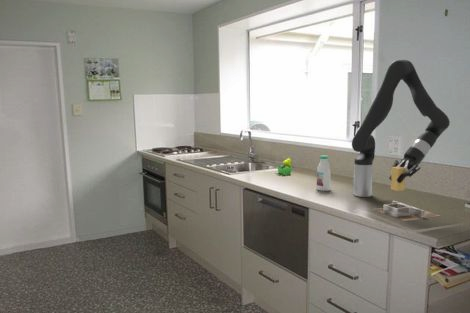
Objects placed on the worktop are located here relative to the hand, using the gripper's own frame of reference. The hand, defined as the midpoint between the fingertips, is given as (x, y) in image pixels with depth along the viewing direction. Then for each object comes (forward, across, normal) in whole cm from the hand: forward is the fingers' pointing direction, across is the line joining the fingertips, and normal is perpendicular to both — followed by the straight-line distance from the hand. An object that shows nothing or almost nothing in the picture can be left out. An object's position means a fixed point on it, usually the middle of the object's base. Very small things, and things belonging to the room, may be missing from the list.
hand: (394, 180), depth 172 cm
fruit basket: (+10, -110, +13) cm, 111 cm away
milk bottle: (+12, -57, +11) cm, 59 cm away
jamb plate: (+7, 0, +16) cm, 18 cm away
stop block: (+2, 0, +4) cm, 5 cm away
